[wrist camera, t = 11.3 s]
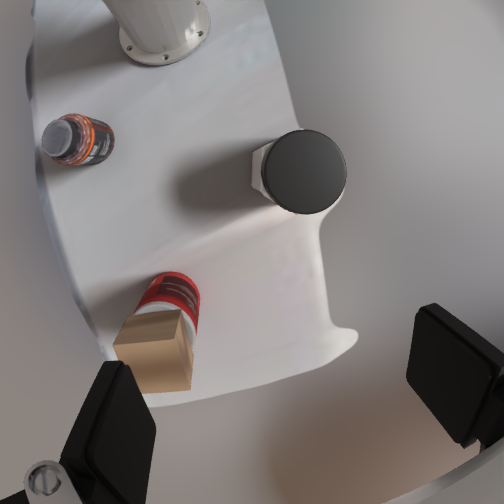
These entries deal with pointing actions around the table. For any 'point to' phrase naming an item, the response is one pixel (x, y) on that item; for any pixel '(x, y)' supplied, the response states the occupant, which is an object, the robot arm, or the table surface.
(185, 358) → the walnut cube
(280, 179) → the jar
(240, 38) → the table surface
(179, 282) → the canned food
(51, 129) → the supplement bottle
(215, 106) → the table surface
